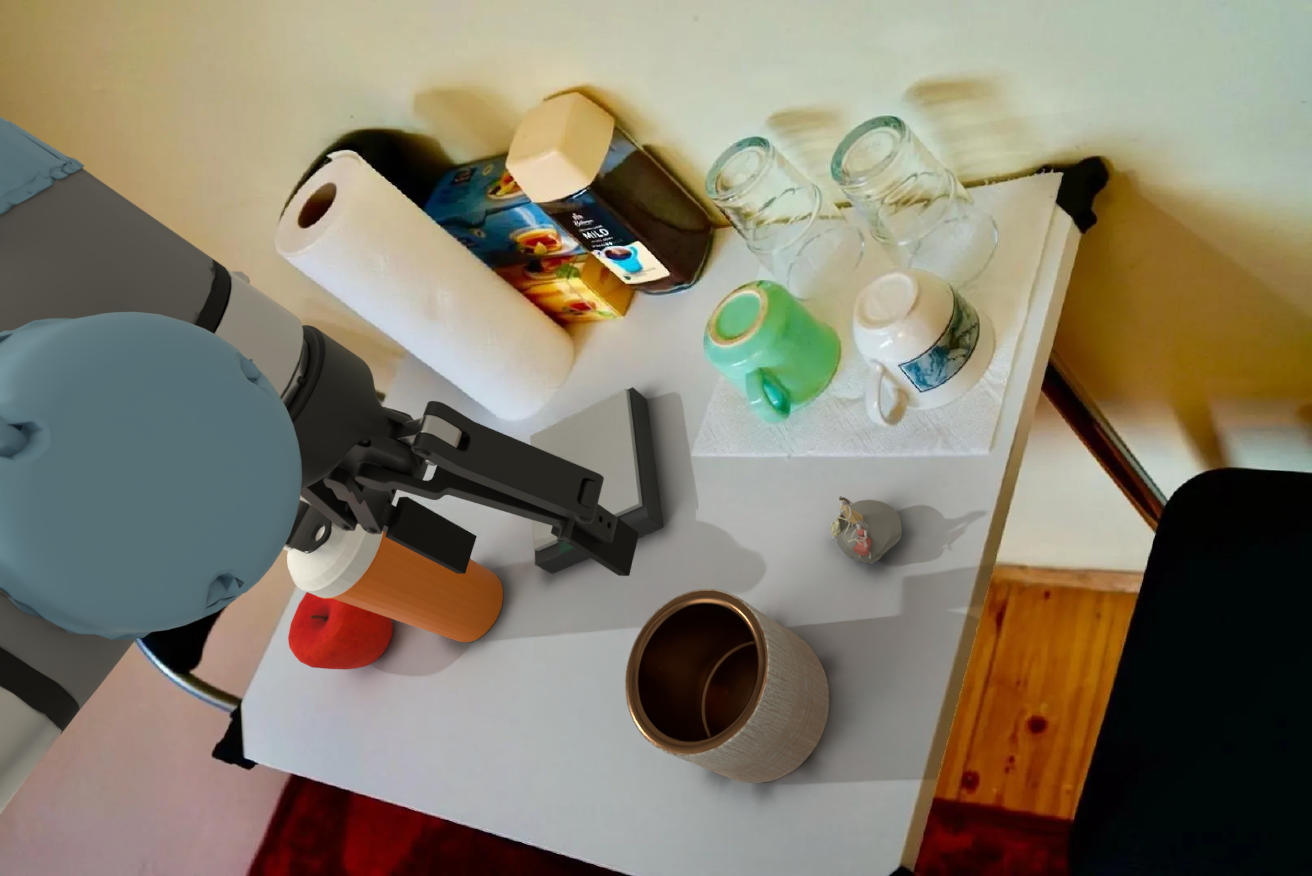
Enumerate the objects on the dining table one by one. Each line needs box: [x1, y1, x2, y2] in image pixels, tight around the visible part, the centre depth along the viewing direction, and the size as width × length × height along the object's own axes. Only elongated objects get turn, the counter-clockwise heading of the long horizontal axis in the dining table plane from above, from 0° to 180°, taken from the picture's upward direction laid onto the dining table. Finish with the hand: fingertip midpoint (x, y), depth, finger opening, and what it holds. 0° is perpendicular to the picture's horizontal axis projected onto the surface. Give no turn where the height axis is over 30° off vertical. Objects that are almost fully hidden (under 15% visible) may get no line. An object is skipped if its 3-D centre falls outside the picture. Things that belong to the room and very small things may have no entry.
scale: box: [529, 386, 664, 575], centre depth 81 cm, size 14×12×3 cm
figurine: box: [830, 495, 903, 564], centre depth 62 cm, size 5×4×6 cm
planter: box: [624, 588, 830, 784], centre depth 60 cm, size 11×11×10 cm
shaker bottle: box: [283, 496, 504, 643], centre depth 77 cm, size 9×9×20 cm
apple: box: [287, 591, 394, 671], centre depth 87 cm, size 9×9×8 cm
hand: (543, 554), depth 57 cm, fingers open, 13 cm apart
